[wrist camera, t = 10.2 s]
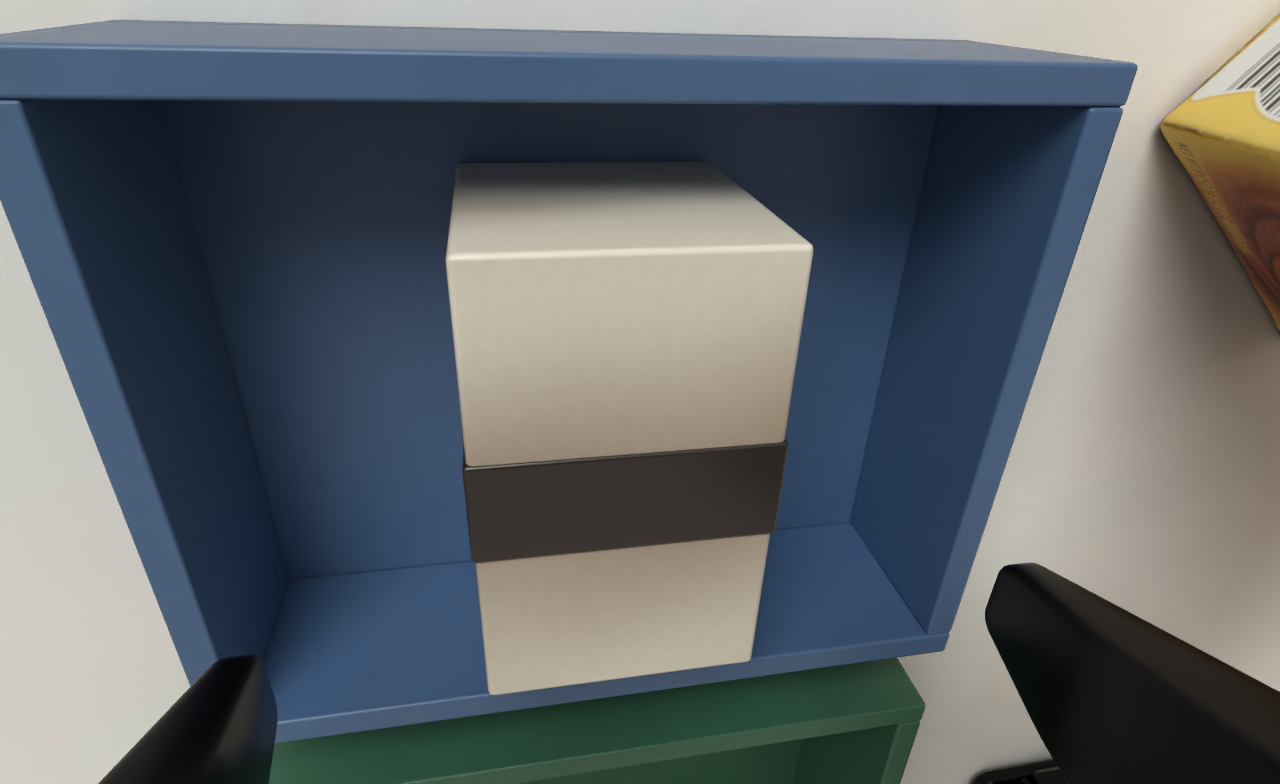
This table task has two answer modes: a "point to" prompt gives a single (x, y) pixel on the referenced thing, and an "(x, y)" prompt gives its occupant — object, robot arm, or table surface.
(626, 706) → the green tote
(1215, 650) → the table surface
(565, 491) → the parcel
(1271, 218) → the candy box
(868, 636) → the blue tote
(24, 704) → the table surface
